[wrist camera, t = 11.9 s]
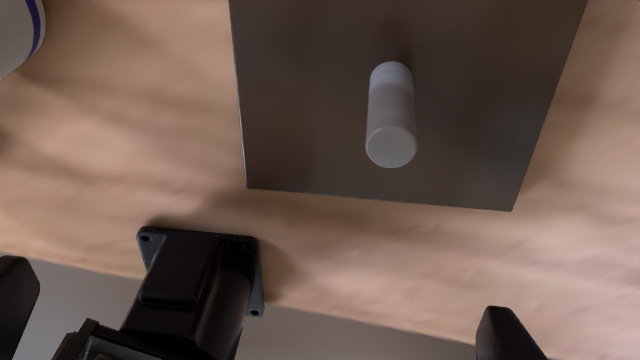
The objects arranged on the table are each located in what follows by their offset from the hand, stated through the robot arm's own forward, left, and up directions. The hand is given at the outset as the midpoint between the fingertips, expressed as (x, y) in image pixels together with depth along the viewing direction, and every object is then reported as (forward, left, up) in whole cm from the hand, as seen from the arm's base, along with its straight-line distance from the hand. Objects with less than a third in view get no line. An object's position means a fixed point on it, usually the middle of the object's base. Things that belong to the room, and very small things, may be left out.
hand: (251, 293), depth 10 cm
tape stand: (-1, -3, -12) cm, 12 cm away
